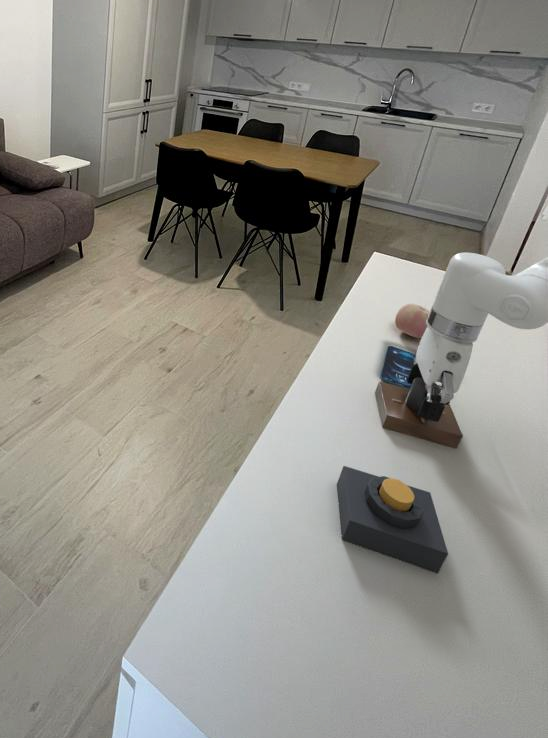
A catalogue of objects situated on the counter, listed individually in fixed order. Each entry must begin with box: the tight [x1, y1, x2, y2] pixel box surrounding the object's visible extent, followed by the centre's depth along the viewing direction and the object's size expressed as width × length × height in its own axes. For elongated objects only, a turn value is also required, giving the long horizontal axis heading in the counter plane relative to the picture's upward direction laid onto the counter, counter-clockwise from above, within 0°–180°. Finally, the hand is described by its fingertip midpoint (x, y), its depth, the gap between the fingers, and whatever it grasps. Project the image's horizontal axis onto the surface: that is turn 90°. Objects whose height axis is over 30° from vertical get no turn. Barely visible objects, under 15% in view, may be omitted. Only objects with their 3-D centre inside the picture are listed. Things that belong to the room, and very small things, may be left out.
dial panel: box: [374, 381, 463, 449], centre depth 93 cm, size 12×10×3 cm
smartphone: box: [379, 345, 416, 389], centre depth 107 cm, size 8×1×15 cm
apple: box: [394, 303, 430, 339], centre depth 118 cm, size 8×8×8 cm
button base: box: [336, 465, 449, 574], centre depth 72 cm, size 12×10×6 cm
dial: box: [405, 378, 442, 413], centre depth 91 cm, size 4×4×5 cm
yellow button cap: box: [379, 477, 414, 511], centre depth 70 cm, size 4×4×2 cm
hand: (421, 400), depth 92 cm, fingers open, 9 cm apart
